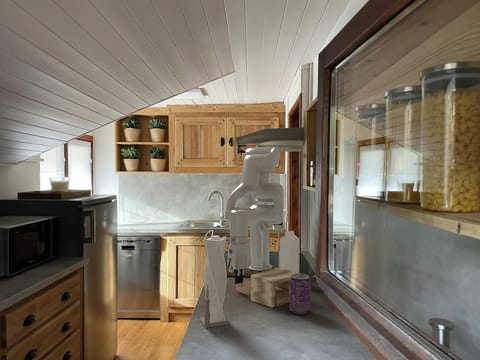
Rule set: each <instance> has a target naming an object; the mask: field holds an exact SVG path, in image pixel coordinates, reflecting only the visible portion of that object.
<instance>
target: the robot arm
mask: <svg viewBox="0 0 480 360" xmlns="http://www.w3.org/2000/svg"><path fill="white" fill-rule="evenodd" d="M244 156H245V157H244V158H243V162H242V167H241V176H240V181H239V185H238V186H237V187H236V188H235V189H234V190H233V191H232V192H231V194H230V195H229V197H228V199H227V202H226V207H225V212H224V214H225V215H224V217H225V218H224V219H225V222H226V223H227V224H228V225H229V239H228V242H229V245H228V249H227V268H228V272H229V273H232V274H233V275H234V284H235V285H236V284H239V283H242V282H244V275H245V272H246V270H252V271H258V272H260V271H261V272H263V271H267V270H270V269H273V264H271V263H270V231H269V230H268V228H267V226H266V225H280V224H282V223H283V221H284V214H285V213H284V212H285V211H284V207H285V203H284V201H285V193H284V186H283V185H282V184H281V183H280V182H279V183H278V182H270V173H273V172H274V170H276V168H277V165H278V164H279V162H280V159H281V152H280V150H279V148H278V147H276V146H267V147H266V146H264V147H263V146H261V147H259V146H257V147H256V146H255V147H250V148H247V149H246V150H245V152H244ZM249 194H251V196H252V197H251V198H252V200H253V201H255V202H258V203H259V202H262V203H263V202H264V203H268V202H269V203H273V204H261V203H259V204H258V203H257V204H252V205H251V206H250V207H236V204H237V202H238V201H239V200H240V199H241V198H243V197H245V196H247V195H249Z"/></svg>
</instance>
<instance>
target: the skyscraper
mask: <svg viewBox="0 0 480 360" xmlns="http://www.w3.org/2000/svg"><path fill="white" fill-rule="evenodd" d="M210 232H211V235H210V237H209V238H207V235H208V234H209V233H210ZM227 240H228V237H227V236H226V235H224V236H222V237H220V235H214V230H213V229H210V230H208V231H207V232H206V233H205V235H204V238H203V242H204V247H205V253H206V257H205V261H204V263H205V264H204V272H203V273H204V275H203V276H204V277H203V278H204V282H203V283H204V296H205V298H204V303H205V304H204V307H205V308H204V309H205V310H204V316H203V317H201V316H200V317H199V318H198V319H199V321H200V322H201V324H202V325H203V327H204V328H205V329H208V328H213V327H214V328H215V327H221V326H227V325H228V322H227V321H226V317H225V314H224V311H223V308H224V307H223V306H224V301H225V296H226V290H227V279H228V278H227V277H228V275H227V265H226V259H225V255H224V252H225V247H226V244H227Z"/></svg>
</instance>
